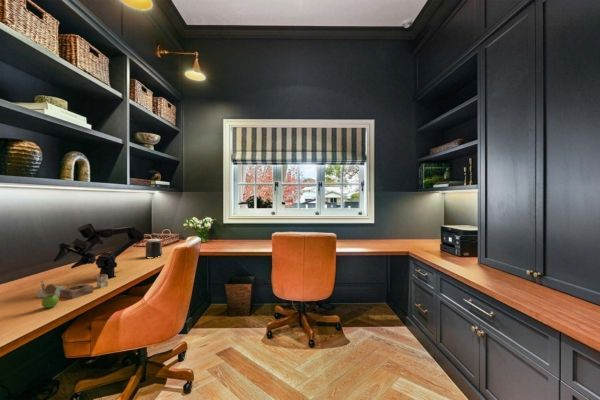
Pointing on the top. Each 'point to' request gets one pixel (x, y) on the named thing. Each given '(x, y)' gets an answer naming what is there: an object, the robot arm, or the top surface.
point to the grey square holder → (76, 291)
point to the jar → (153, 248)
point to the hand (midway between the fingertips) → (62, 264)
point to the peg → (102, 280)
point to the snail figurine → (49, 295)
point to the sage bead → (41, 294)
